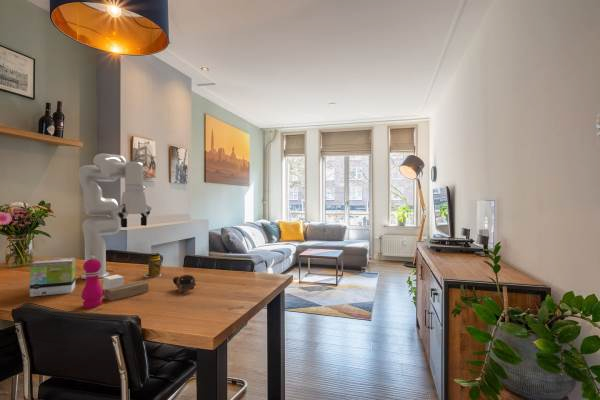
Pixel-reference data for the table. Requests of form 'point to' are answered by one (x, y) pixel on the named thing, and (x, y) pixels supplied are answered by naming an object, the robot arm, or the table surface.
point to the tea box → (52, 276)
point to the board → (125, 290)
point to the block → (112, 281)
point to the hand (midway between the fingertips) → (134, 226)
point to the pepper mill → (92, 284)
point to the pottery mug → (184, 282)
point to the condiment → (154, 265)
